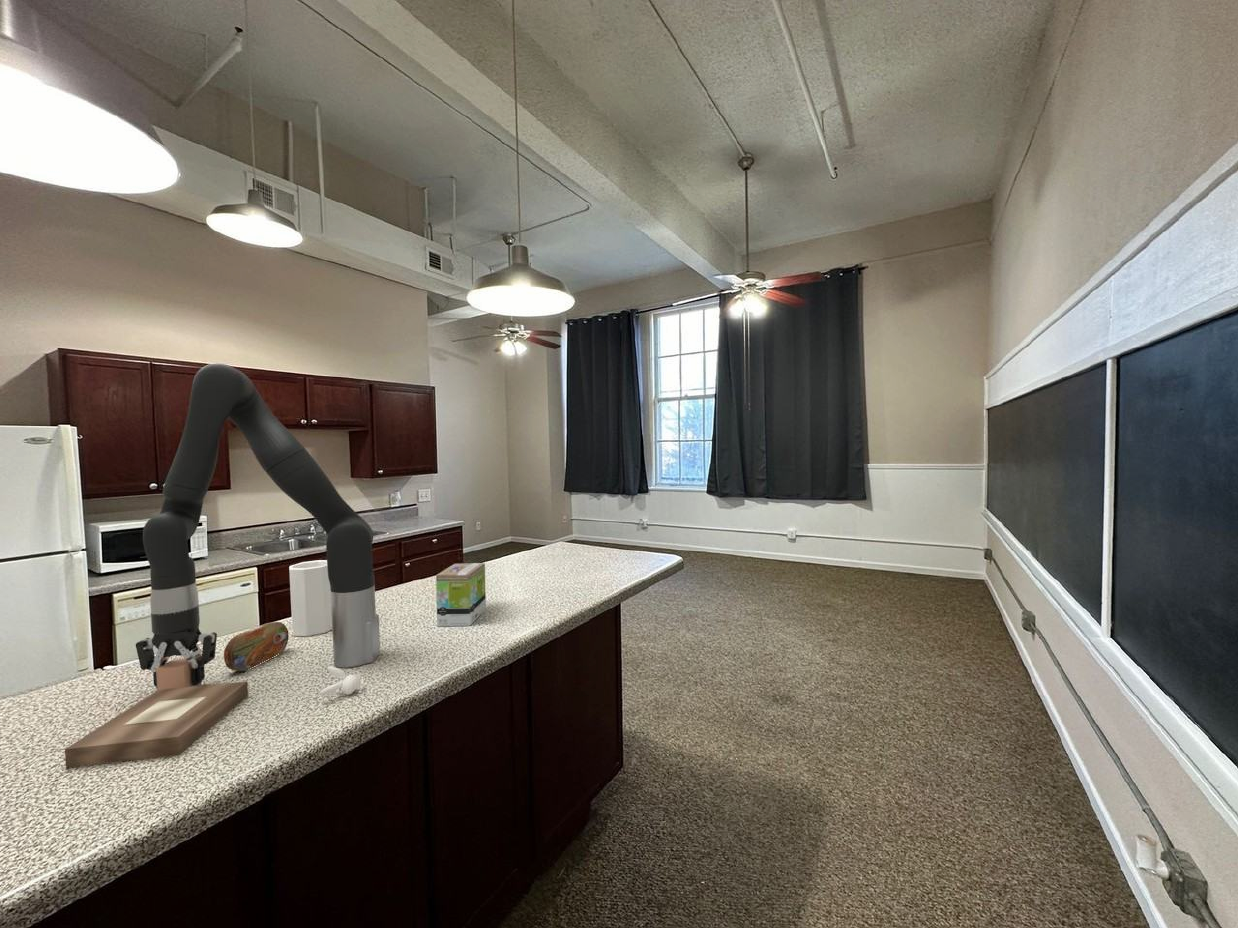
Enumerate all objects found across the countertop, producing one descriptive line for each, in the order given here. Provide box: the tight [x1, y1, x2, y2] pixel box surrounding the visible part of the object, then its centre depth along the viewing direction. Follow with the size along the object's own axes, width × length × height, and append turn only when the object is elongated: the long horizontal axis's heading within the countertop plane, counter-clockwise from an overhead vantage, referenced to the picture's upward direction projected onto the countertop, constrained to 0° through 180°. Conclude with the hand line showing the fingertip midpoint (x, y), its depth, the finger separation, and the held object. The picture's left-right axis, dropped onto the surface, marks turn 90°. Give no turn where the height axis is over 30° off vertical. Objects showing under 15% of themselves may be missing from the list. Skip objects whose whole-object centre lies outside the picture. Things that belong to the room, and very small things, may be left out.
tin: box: [223, 621, 290, 672], centre depth 118 cm, size 15×3×8 cm, turn 168°
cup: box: [288, 559, 332, 637], centre depth 140 cm, size 11×11×18 cm
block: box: [156, 657, 202, 691], centre depth 105 cm, size 5×5×6 cm
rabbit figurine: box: [319, 665, 365, 698], centre depth 101 cm, size 6×4×8 cm
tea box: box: [435, 562, 487, 627], centre depth 146 cm, size 15×10×15 cm, turn 179°
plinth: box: [64, 680, 249, 768], centre depth 91 cm, size 16×20×3 cm
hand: (179, 685), depth 105 cm, fingers open, 6 cm apart
